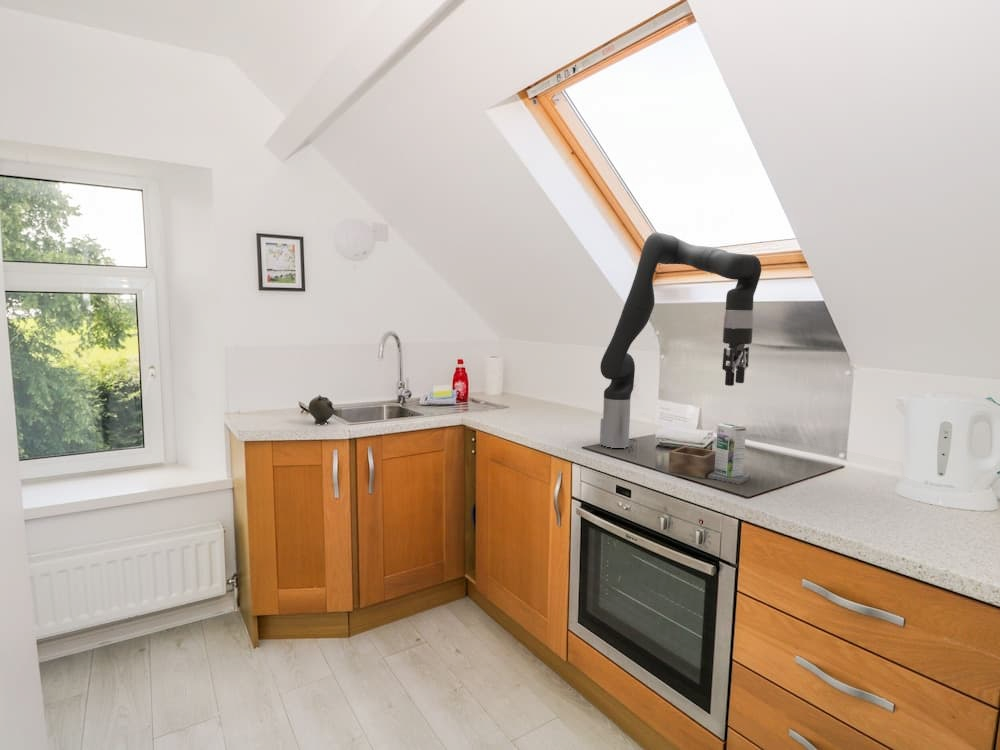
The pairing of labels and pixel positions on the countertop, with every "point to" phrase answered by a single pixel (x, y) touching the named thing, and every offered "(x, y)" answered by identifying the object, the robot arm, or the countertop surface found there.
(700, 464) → the walnut sleeve
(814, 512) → the countertop surface
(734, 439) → the syrup box
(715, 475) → the slate mat
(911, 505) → the countertop surface
